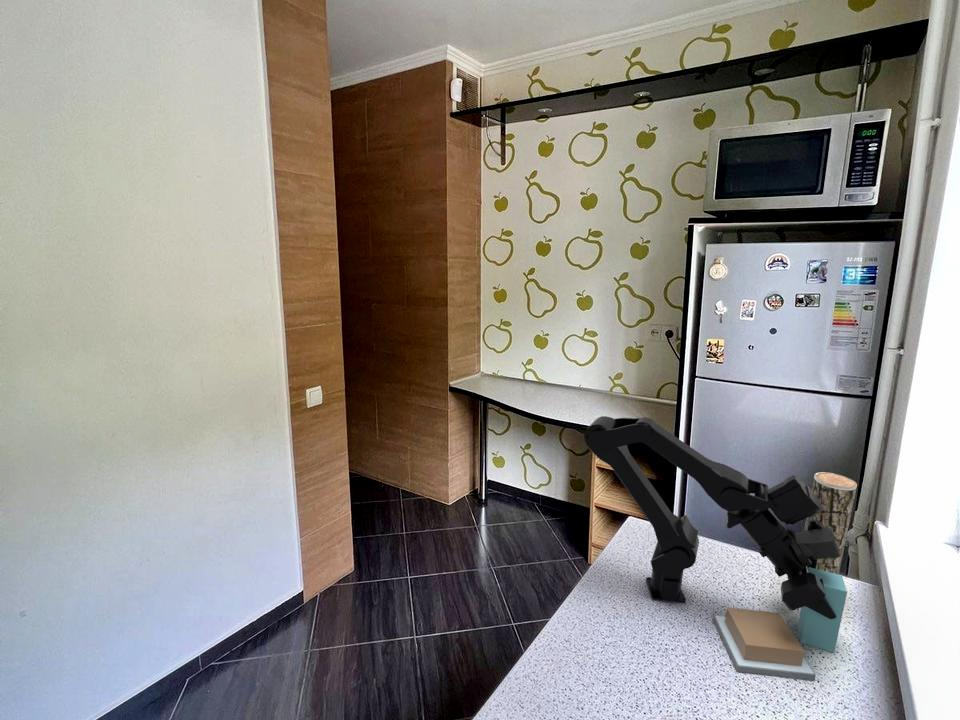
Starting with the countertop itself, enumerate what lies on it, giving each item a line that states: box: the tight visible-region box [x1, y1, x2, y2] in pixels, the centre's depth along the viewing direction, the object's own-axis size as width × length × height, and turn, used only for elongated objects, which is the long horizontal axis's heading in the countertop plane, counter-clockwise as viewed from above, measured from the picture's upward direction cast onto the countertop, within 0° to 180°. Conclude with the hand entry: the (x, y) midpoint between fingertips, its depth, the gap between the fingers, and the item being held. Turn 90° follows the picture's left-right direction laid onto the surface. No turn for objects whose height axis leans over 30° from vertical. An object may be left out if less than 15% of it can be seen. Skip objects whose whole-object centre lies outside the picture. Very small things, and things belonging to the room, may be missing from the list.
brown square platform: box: [712, 607, 817, 682], centre depth 88 cm, size 12×12×4 cm
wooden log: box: [803, 471, 858, 575], centre depth 100 cm, size 7×7×25 cm
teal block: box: [797, 567, 848, 654], centre depth 89 cm, size 5×5×12 cm
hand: (831, 608), depth 89 cm, fingers closed on teal block, 5 cm apart
